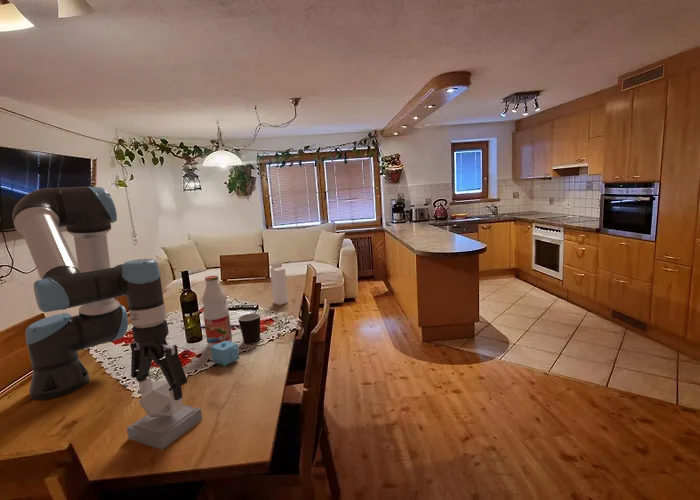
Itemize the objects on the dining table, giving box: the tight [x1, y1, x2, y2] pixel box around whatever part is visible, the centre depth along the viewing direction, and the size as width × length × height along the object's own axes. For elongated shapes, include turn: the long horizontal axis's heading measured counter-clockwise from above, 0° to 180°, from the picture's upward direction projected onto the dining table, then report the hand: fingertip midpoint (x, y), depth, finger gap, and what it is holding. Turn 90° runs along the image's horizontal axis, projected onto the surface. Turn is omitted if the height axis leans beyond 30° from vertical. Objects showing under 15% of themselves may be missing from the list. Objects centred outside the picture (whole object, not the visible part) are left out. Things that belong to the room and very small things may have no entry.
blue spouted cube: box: [210, 341, 240, 368], centre depth 125 cm, size 12×6×8 cm, turn 56°
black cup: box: [237, 313, 261, 345], centre depth 145 cm, size 12×9×10 cm
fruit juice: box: [201, 274, 233, 349], centre depth 140 cm, size 9×9×28 cm
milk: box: [269, 262, 289, 306], centre depth 193 cm, size 6×6×22 cm
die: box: [138, 380, 184, 418], centre depth 89 cm, size 8×9×10 cm
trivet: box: [126, 404, 203, 451], centre depth 90 cm, size 12×12×3 cm
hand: (163, 406), depth 90 cm, fingers closed on die, 10 cm apart
